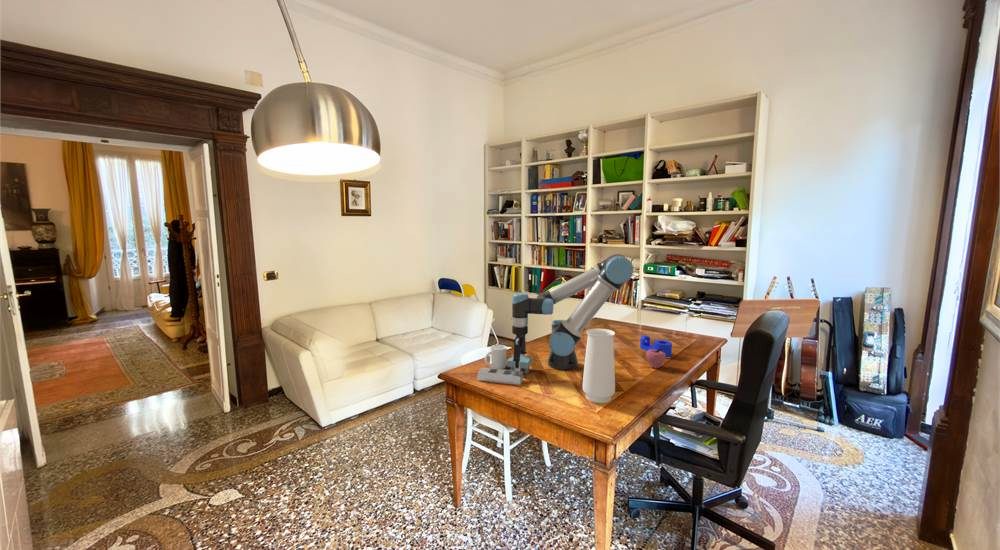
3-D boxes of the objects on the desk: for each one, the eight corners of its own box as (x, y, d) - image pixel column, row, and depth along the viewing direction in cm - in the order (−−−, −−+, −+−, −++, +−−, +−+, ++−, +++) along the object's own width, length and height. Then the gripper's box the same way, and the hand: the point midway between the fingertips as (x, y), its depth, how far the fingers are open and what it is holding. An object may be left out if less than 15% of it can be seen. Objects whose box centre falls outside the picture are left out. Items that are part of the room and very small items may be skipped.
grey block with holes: (523, 379, 184) (523, 371, 183) (520, 385, 178) (520, 376, 177) (482, 375, 189) (482, 367, 189) (477, 380, 183) (477, 372, 183)
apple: (658, 363, 205) (659, 344, 203) (669, 369, 196) (670, 350, 195) (641, 365, 203) (642, 346, 201) (652, 371, 194) (653, 351, 193)
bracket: (675, 357, 214) (675, 343, 213) (661, 359, 211) (662, 345, 210) (649, 347, 233) (650, 334, 232) (636, 348, 229) (637, 336, 228)
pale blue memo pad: (531, 369, 197) (531, 356, 196) (527, 375, 188) (527, 362, 188) (512, 367, 200) (512, 354, 199) (507, 373, 191) (507, 360, 190)
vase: (619, 404, 159) (622, 336, 155) (587, 405, 158) (589, 337, 154) (608, 390, 172) (610, 327, 168) (578, 391, 171) (580, 328, 167)
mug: (488, 372, 193) (488, 352, 191) (480, 367, 200) (480, 347, 198) (509, 367, 199) (509, 347, 198) (500, 362, 206) (500, 343, 205)
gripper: (517, 319, 203) (517, 362, 205) (506, 330, 182) (506, 377, 185) (532, 320, 200) (531, 363, 203) (522, 331, 180) (522, 379, 183)
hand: (519, 370), depth 194 cm, fingers open, 9 cm apart
